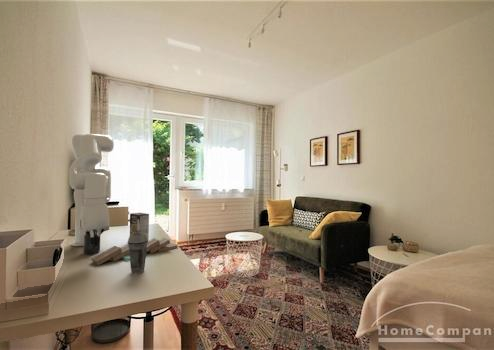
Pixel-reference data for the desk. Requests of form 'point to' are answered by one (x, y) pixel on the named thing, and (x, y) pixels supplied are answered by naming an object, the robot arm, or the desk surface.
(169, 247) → the domino
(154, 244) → the domino
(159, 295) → the desk surface
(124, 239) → the desk surface
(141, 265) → the beverage cup
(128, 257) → the teal domino
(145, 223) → the coffee box
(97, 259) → the domino
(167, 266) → the desk surface
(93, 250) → the supplement bottle
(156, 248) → the domino
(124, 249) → the domino
